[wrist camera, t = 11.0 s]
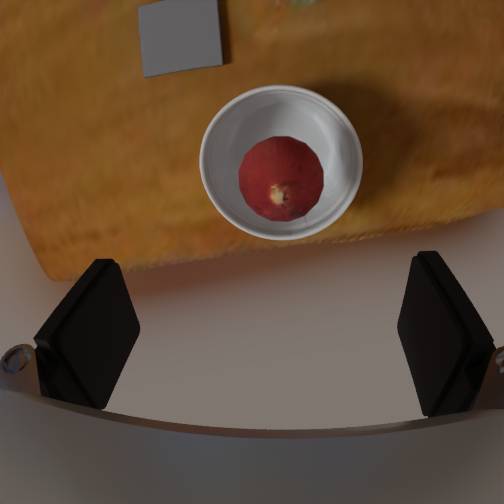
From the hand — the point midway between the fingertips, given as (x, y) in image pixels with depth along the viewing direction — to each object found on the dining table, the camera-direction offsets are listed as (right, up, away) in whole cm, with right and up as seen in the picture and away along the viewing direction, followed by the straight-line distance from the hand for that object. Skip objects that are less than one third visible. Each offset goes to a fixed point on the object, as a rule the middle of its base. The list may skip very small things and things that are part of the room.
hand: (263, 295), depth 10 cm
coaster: (-7, +22, +16) cm, 28 cm away
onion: (+2, +8, +15) cm, 17 cm away
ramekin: (+3, +11, +21) cm, 24 cm away
